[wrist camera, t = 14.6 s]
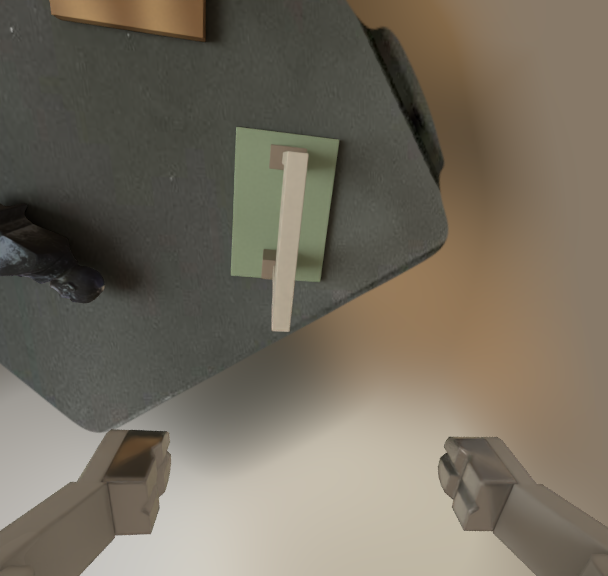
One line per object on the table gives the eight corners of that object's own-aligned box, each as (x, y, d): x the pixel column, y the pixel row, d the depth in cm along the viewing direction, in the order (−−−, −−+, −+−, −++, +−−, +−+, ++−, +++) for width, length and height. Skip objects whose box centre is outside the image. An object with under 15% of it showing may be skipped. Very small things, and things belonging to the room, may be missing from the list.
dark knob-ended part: (100, 304, 38) (69, 332, 32) (-27, 239, 35) (-90, 257, 29) (126, 258, 37) (98, 279, 31) (-5, 185, 33) (-66, 192, 27)
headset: (303, 149, 34) (327, 146, 19) (291, 268, 38) (303, 339, 24) (270, 145, 33) (270, 138, 19) (262, 266, 38) (256, 336, 23)
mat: (338, 140, 34) (339, 139, 34) (319, 280, 40) (320, 282, 39) (236, 127, 33) (236, 126, 32) (231, 273, 38) (230, 275, 38)
